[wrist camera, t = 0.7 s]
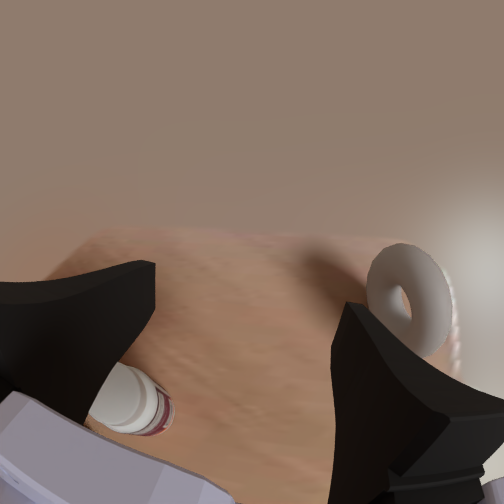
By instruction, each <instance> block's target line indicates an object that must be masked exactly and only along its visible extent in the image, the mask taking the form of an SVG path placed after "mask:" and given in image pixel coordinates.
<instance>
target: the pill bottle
mask: <svg viewBox="0 0 504 504" xmlns="http://www.w3.org/2000/svg"><path fill="white" fill-rule="evenodd" d="M89 414H90V415H91V416H92V417H93V418H94V419H96V420H97V421H99V422H101V423H103V424H104V425H105V426H107V427H108V428H110V429H111V430H113V431H116V432H119V433H124V434H132V435H140V436H156V435H159V434H161V433H163V432H164V431H166V430H167V429H168V428H169V427H170V425H171V423H172V421H173V419H174V414H175V408H174V404H173V401H172V399H171V397H170V395H169V394H168V393H167V392H166V391H165V390H164V389H163V388H162V387H161V386H160V385H158V384H157V383H156V382H154V381H153V380H152V379H151V378H150V377H148V376H147V375H146V374H145V373H144V372H142V371H141V370H139V369H137V368H134V367H131V366H126V365H124V364H122V363H119V362H117V363H116V365H115V366H114V368H113V369H112V370H111V372H110V373H109V375H108V377H107V379H106V380H105V382H104V384H103V385H102V387H101V389H100V391H99V393H98V395H97V397H96V398H95V400H94V402H93V404H92V406H91V408H90V410H89Z"/></svg>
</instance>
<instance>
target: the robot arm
mask: <svg viewBox="0 0 504 504" xmlns="http://www.w3.org/2000/svg"><path fill="white" fill-rule="evenodd" d="M154 310H155V263H153V262H149V261H144V260H137V261H131V262H127V263H123V264H120V265H116V266H112V267H109V268H105V269H102V270H98V271H94V272H90V273H86V274H82V275H78V276H73V277H68V278H63V279H56V280H49V281H37V282H0V504H241V503H236V502H234V500H233V498H232V496H231V495H230V494H229V493H228V492H227V491H226V490H225V489H223V488H221V487H220V486H218V485H217V484H215V483H213V482H212V481H210V480H209V479H207V478H206V477H204V476H202V475H200V474H197V473H194V472H192V471H189V470H187V469H184V468H182V467H179V466H177V465H175V464H172V463H170V462H168V461H165V460H162V459H159V458H156V457H153V456H150V455H148V454H145V453H142V452H140V451H137V450H135V449H132V448H130V447H127V446H125V445H122V444H120V443H118V442H115V441H113V440H111V439H109V438H106V437H104V436H102V435H100V434H98V433H96V432H94V431H92V430H90V429H88V428H86V427H84V426H83V424H84V422H85V419H86V417H87V415H88V413H89V410H90V408H91V406H92V404H93V402H94V400H95V398H96V397H97V395H98V393H99V391H100V389H101V387H102V385H103V384H104V382H105V380H106V379H107V377H108V375H109V373H110V372H111V370H112V369H113V368H114V366H115V365H116V363H117V362H118V361H119V360H120V358H121V357H122V356H123V354H124V353H125V352H126V351H127V349H128V348H129V347H130V346H131V344H132V343H133V342H134V341H135V339H136V338H137V337H138V336H139V334H140V333H141V332H142V330H143V329H144V328H145V326H146V324H147V323H148V321H149V319H150V318H151V316H152V314H153V312H154ZM330 369H331V379H332V388H333V397H334V407H335V420H336V432H335V450H334V461H333V471H332V479H331V486H330V493H329V499H328V504H504V477H501V478H498V479H495V480H492V481H489V482H487V483H486V484H484V485H482V486H481V483H480V479H479V478H481V477H482V476H483V475H484V473H485V471H484V468H483V465H482V464H483V463H484V462H485V461H486V460H487V459H488V458H489V457H490V456H491V455H492V454H493V453H494V452H495V451H496V450H497V449H498V448H499V447H500V446H501V445H502V444H503V442H504V400H503V399H501V398H498V397H495V396H492V395H489V394H486V393H484V392H481V391H478V390H476V389H474V388H471V387H469V386H467V385H465V384H463V383H461V382H459V381H457V380H455V379H453V378H451V377H449V376H448V375H446V374H444V373H443V372H441V371H439V370H438V369H436V368H435V367H433V366H432V365H430V364H429V363H427V362H426V361H425V360H423V359H422V358H421V357H419V356H418V355H416V354H415V353H414V352H413V351H411V350H410V349H409V348H408V347H407V346H406V345H405V344H403V343H402V342H401V341H400V340H399V339H398V338H397V337H396V336H395V335H394V334H392V333H391V332H390V331H389V330H388V329H387V328H386V327H385V326H384V325H383V324H382V323H381V322H380V321H379V320H378V319H377V318H376V317H375V316H374V315H373V314H372V313H371V312H370V311H369V310H368V309H367V308H366V307H365V306H364V305H362V304H358V303H352V302H346V304H345V307H344V310H343V313H342V316H341V319H340V322H339V325H338V328H337V331H336V334H335V337H334V340H333V342H332V345H331V367H330Z"/></svg>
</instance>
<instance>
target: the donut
mask: <svg viewBox="0 0 504 504" xmlns="http://www.w3.org/2000/svg"><path fill="white" fill-rule="evenodd" d="M401 287H402V289H403V290H404V292H405V293H406V295H407V297H408V300H409V302H410V307H411V312H412V318H411V317H410V316H409V314H408V313H407V311H406V309H405V307H404V304H403V301H402V296H401ZM366 293H367V303H368V308H369V311H370V312H371V313H372V314H373V315H374V316H375V317H376V318H377V319H378V320H379V321H380V322H381V323H382V324H383V325H384V326H385V327H386V328H387V329H388V330H389V331H390V332H391V333H392V334H394V335H395V336H396V337H397V338H398V339H399V340H400V341H401V342H402V343H403V344H405V345H406V346H407V347H408V348H409V349H410V350H411V351H413V352H414V353H415V354H416V355H418V356H419V357H421V358H424V357H427V356H430V355H432V354H433V353H435V352H436V351H437V350H438V349H439V347H440V346H441V345H442V344H443V343H444V342H445V340H446V337H447V335H448V332H449V329H450V327H451V323H452V307H453V306H452V300H451V295H450V290H449V286H448V283H447V281H446V279H445V277H444V275H443V272H442V270H441V269H440V267H439V266H438V265H437V264H436V262H435V261H434V260H433V259H432V257H431V256H430V255H429V254H427V253H426V252H424V251H423V250H421V249H420V248H418V247H416V246H414V245H408V244H403V243H399V244H395V245H392V246H389V247H387V248H385V249H383V250H382V251H381V252H380V253H379V254H378V255H377V257H376V258H375V259H374V260H373V261H372V264H371V267H370V270H369V272H368V275H367V284H366Z"/></svg>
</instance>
